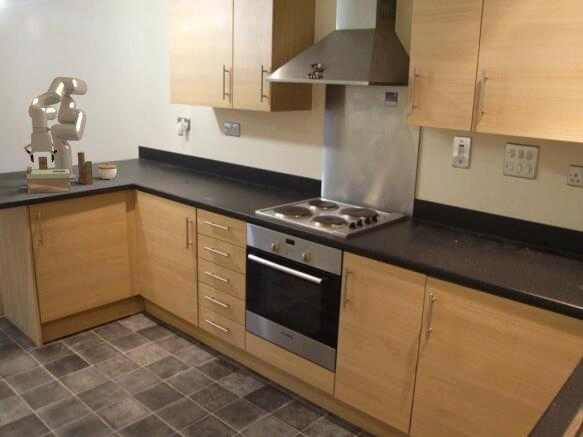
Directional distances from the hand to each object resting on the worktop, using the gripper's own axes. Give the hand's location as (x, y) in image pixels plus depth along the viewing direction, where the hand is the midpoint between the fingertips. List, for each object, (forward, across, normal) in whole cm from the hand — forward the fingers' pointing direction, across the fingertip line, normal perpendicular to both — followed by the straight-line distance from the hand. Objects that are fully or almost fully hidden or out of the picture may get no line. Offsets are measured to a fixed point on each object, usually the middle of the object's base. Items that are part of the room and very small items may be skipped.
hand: (42, 162), depth 287 cm
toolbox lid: (+5, -3, +14) cm, 15 cm away
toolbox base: (+13, -3, +14) cm, 20 cm away
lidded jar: (+13, -34, -16) cm, 40 cm away
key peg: (+13, 0, 0) cm, 13 cm away
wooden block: (+14, -21, 0) cm, 25 cm away
